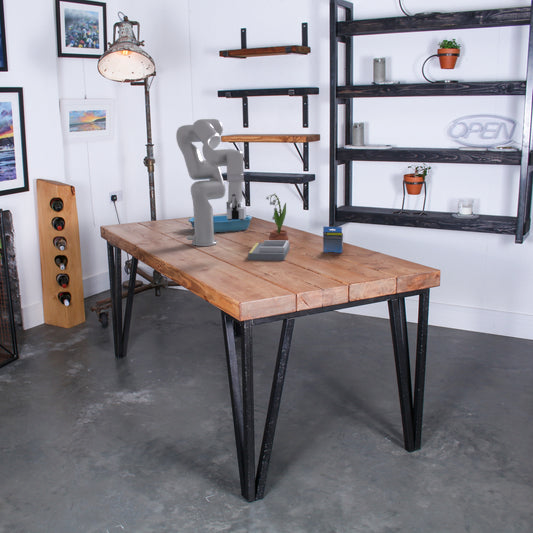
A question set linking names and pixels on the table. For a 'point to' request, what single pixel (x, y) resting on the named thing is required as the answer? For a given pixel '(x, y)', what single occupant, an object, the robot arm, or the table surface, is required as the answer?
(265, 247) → the dock
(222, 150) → the robot arm
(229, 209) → the lidded storage box
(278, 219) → the potted flower
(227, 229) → the casserole dish
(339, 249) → the label tape cartridge
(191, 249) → the table surface
